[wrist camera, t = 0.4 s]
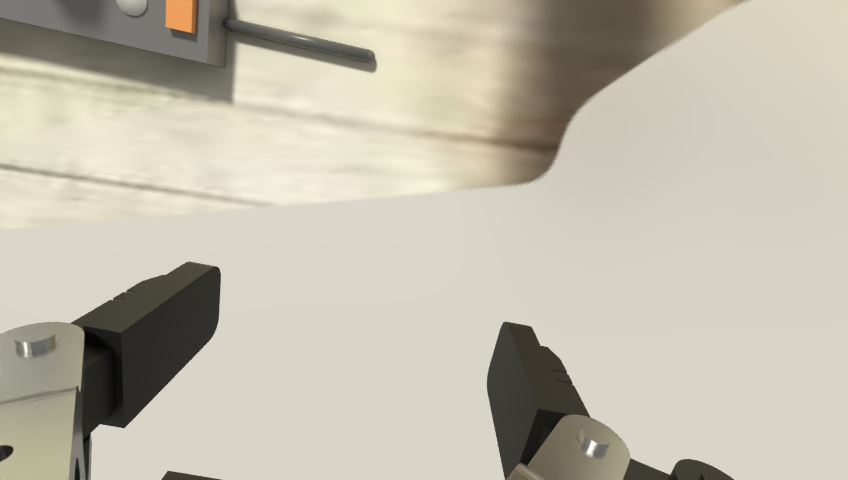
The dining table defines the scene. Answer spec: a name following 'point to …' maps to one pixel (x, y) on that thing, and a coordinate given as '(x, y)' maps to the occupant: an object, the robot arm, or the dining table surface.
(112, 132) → the dining table surface
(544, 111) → the dining table surface
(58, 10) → the power strip
